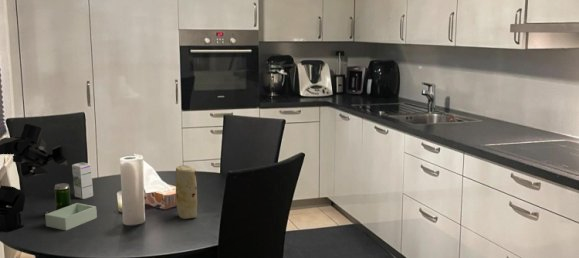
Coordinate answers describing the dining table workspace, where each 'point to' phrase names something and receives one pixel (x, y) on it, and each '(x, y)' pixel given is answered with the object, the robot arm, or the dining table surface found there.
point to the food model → (186, 192)
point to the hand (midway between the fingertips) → (57, 168)
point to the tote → (71, 216)
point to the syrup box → (82, 180)
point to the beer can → (62, 195)
